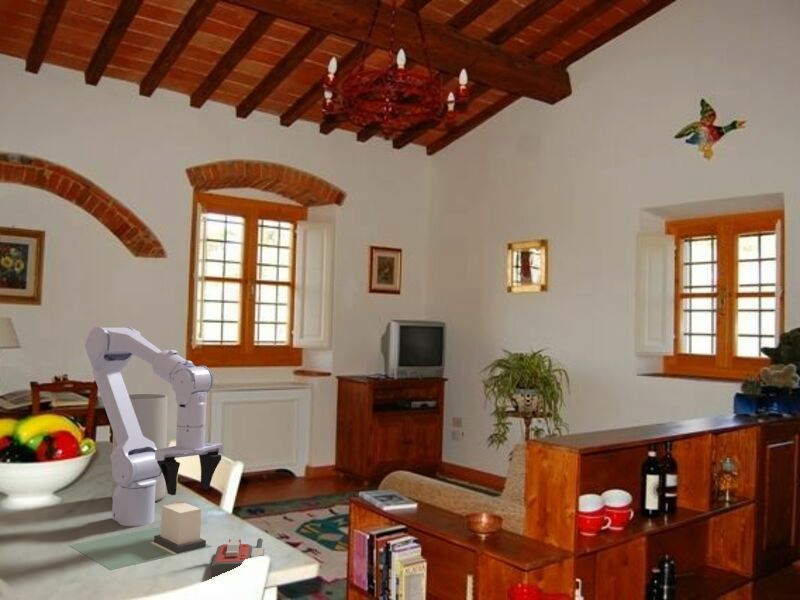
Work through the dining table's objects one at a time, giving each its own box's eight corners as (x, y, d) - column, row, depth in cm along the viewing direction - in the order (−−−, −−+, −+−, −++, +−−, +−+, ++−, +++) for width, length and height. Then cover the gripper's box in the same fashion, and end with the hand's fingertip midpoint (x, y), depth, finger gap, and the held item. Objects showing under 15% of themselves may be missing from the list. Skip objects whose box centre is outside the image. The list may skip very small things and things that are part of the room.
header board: (68, 550, 138) (69, 523, 138) (165, 530, 152) (166, 505, 152) (110, 575, 125) (111, 545, 125) (211, 551, 140) (212, 524, 140)
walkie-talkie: (260, 583, 125) (265, 546, 145) (261, 557, 125) (266, 524, 145) (208, 584, 124) (220, 547, 143) (209, 558, 124) (221, 525, 144)
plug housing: (160, 536, 141) (161, 505, 141) (181, 531, 144) (182, 501, 144) (178, 544, 136) (180, 513, 136) (199, 540, 139) (201, 509, 139)
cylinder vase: (153, 506, 170) (155, 400, 171) (102, 504, 171) (104, 399, 171) (173, 492, 183) (175, 394, 183) (125, 491, 184) (127, 393, 184)
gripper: (168, 430, 140) (165, 500, 140) (232, 424, 151) (229, 489, 151) (151, 426, 145) (148, 493, 145) (213, 420, 156) (211, 483, 155)
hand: (188, 491), depth 148 cm, fingers open, 7 cm apart
